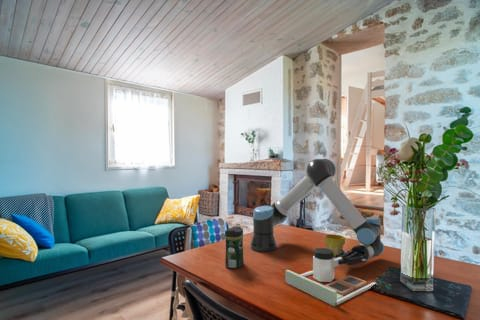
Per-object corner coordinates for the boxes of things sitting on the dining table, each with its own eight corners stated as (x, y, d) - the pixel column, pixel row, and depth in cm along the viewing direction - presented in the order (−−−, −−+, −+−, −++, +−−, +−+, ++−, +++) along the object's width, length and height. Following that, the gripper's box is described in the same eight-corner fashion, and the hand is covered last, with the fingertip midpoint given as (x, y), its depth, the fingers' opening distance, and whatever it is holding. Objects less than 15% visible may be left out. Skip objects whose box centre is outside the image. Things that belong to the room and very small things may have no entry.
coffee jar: (231, 260, 144) (230, 224, 144) (245, 263, 141) (245, 225, 141) (222, 267, 135) (222, 229, 135) (237, 270, 132) (237, 230, 132)
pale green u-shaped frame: (327, 267, 135) (327, 256, 135) (376, 285, 116) (376, 272, 116) (285, 282, 119) (285, 270, 119) (334, 306, 100) (334, 292, 100)
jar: (338, 280, 120) (338, 252, 120) (323, 284, 117) (323, 255, 117) (324, 272, 128) (324, 246, 128) (309, 275, 125) (309, 248, 125)
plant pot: (342, 251, 157) (342, 234, 157) (347, 258, 147) (347, 239, 147) (323, 251, 158) (323, 233, 158) (327, 257, 148) (327, 239, 148)
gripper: (375, 264, 133) (345, 277, 119) (349, 256, 143) (320, 267, 129) (374, 248, 133) (345, 259, 119) (349, 241, 143) (320, 251, 129)
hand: (332, 263), depth 124 cm, fingers closed
